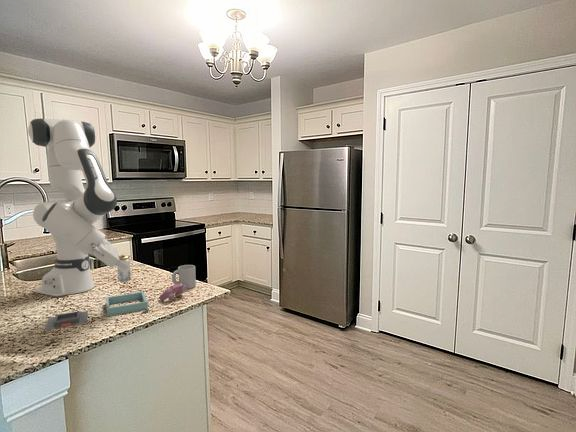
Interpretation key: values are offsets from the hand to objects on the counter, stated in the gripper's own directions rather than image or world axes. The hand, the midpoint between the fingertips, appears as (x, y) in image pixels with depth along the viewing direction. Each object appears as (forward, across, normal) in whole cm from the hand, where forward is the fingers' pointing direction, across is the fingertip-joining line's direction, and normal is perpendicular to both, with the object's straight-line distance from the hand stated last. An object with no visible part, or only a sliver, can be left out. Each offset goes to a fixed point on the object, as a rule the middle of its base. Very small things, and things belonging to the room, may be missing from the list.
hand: (125, 266), depth 113 cm
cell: (+3, 0, +4) cm, 5 cm away
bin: (+11, 0, +12) cm, 16 cm away
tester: (-1, -3, +24) cm, 24 cm away
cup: (+28, +16, -5) cm, 33 cm away
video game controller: (+24, +4, 0) cm, 24 cm away
